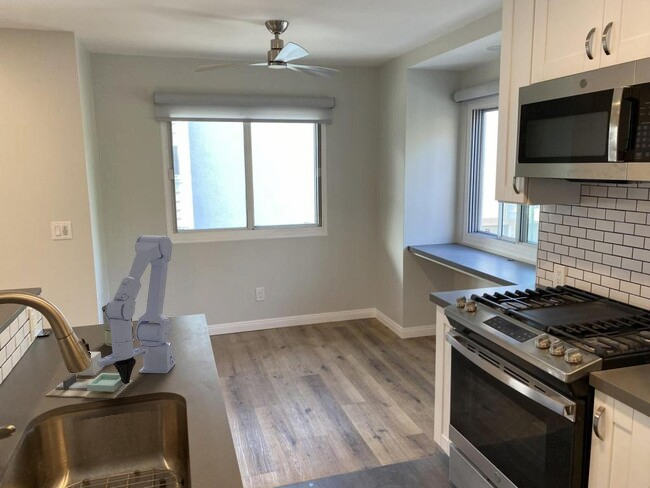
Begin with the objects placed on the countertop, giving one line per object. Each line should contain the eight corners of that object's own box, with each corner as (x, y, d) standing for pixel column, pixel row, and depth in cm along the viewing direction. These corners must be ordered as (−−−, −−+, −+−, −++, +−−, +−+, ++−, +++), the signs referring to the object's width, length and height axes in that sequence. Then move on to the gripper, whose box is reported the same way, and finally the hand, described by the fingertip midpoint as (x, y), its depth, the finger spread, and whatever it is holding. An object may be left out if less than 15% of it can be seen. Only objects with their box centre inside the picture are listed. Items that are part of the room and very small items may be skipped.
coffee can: (123, 335, 196) (120, 300, 193) (139, 339, 190) (137, 304, 188) (99, 343, 187) (95, 307, 185) (116, 348, 181) (112, 311, 179)
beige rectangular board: (132, 381, 154) (131, 371, 154) (115, 398, 144) (114, 387, 143) (68, 379, 156) (67, 369, 156) (46, 396, 145) (44, 385, 145)
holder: (127, 379, 153) (126, 373, 152) (114, 391, 145) (113, 385, 144) (101, 378, 153) (101, 373, 153) (87, 390, 145) (86, 384, 145)
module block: (102, 369, 164) (100, 351, 163) (94, 375, 159) (92, 357, 158) (87, 368, 164) (86, 351, 163) (79, 375, 159) (77, 357, 158)
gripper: (139, 330, 154) (142, 371, 156) (91, 342, 144) (95, 386, 146) (150, 335, 149) (153, 377, 152) (101, 349, 139) (105, 394, 141)
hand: (125, 382), depth 148 cm, fingers closed
